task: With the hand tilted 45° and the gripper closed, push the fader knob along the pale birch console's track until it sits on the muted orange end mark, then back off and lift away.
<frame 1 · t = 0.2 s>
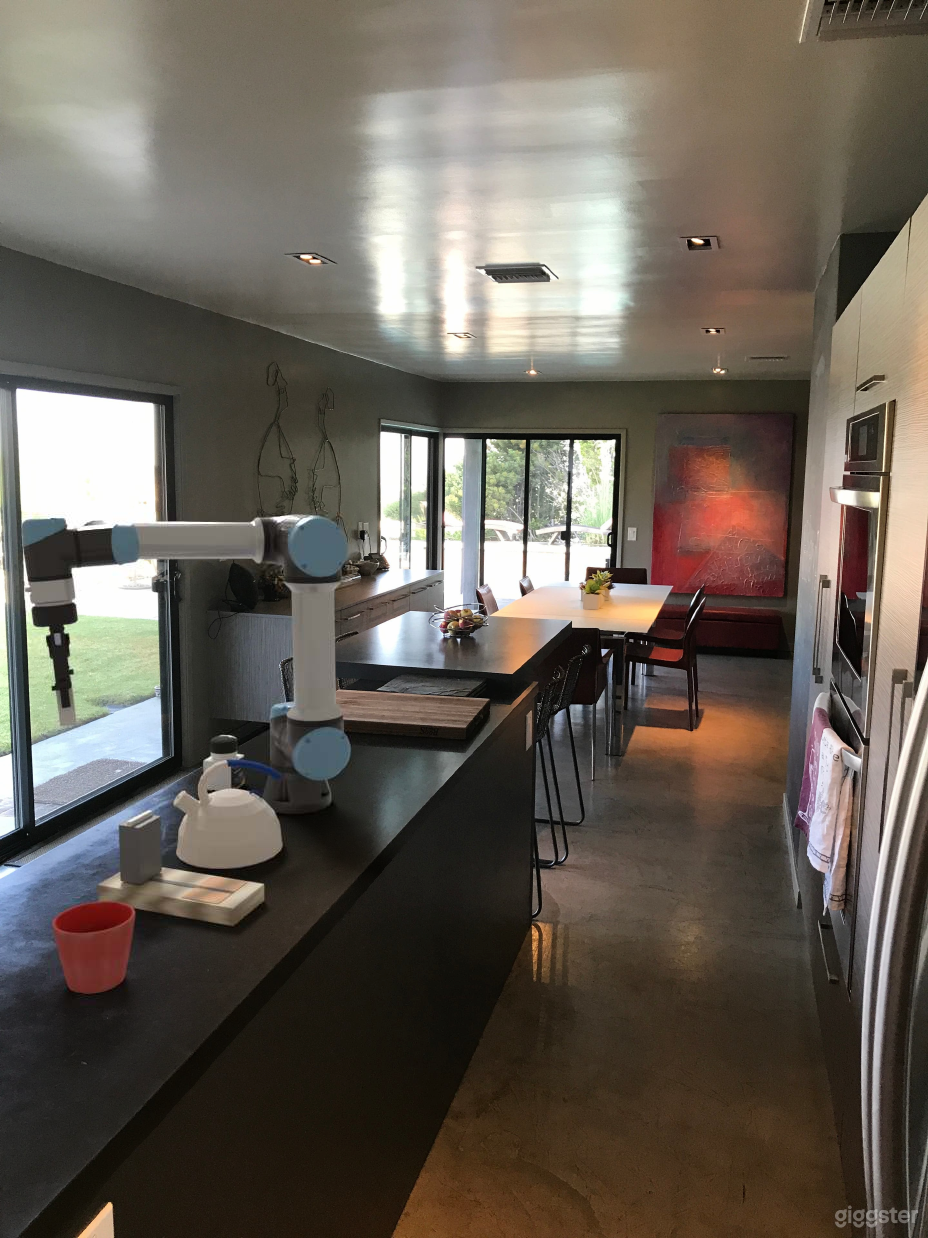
hand: (68, 717, 173), 27 cm above the table, tool pointing down, fingers open, 13 cm apart
medicine bottle: (224, 787, 221), on the table
fader console: (181, 901, 160), on the table
flower pot: (96, 981, 135), on the table
fader knob: (140, 846, 162), point 9 cm above the table, slide at 0.0 cm
kettle: (229, 850, 184), on the table
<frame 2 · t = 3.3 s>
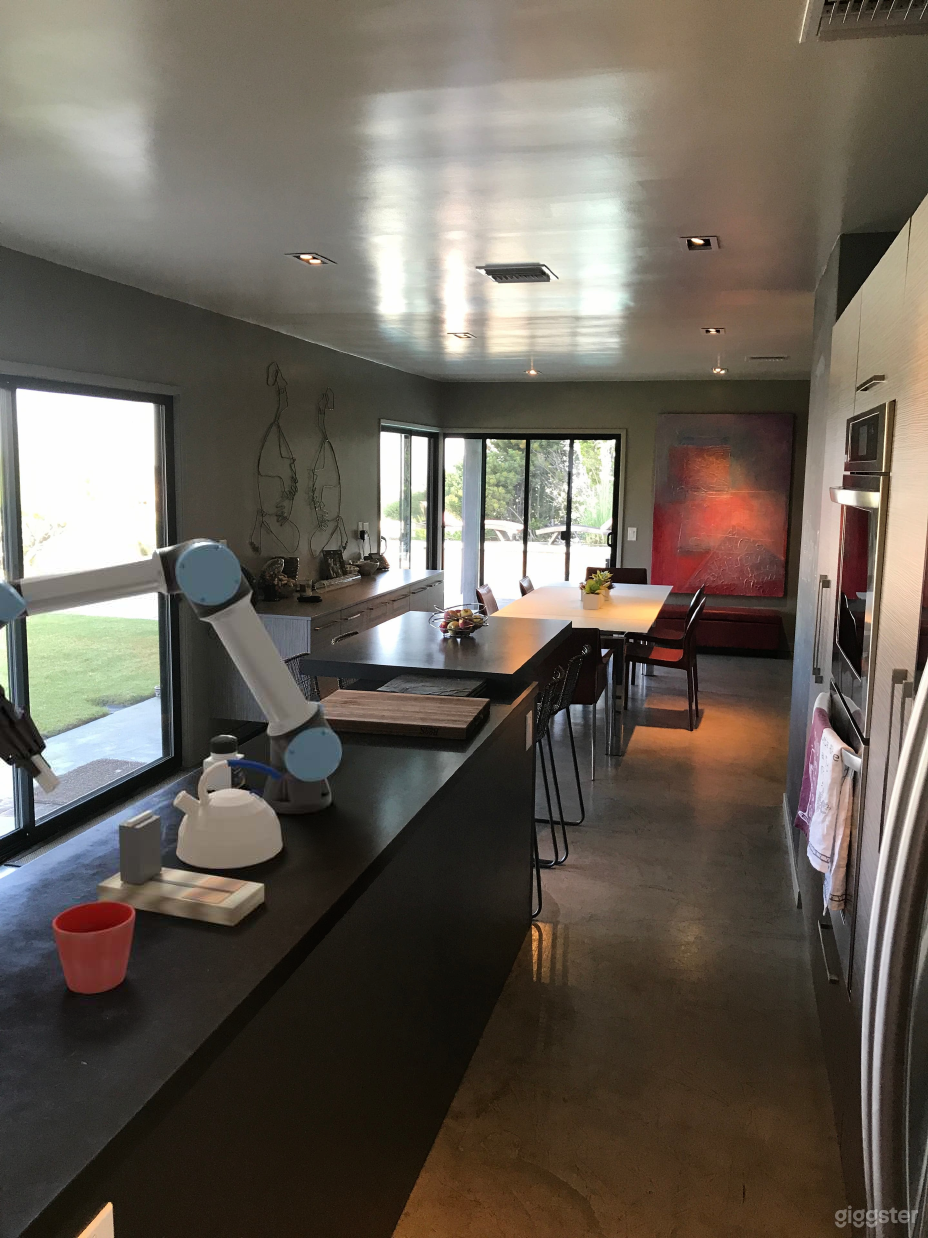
hand: (53, 788, 165), 17 cm above the table, tool tilted 45°, fingers closed
nothing on the table moved.
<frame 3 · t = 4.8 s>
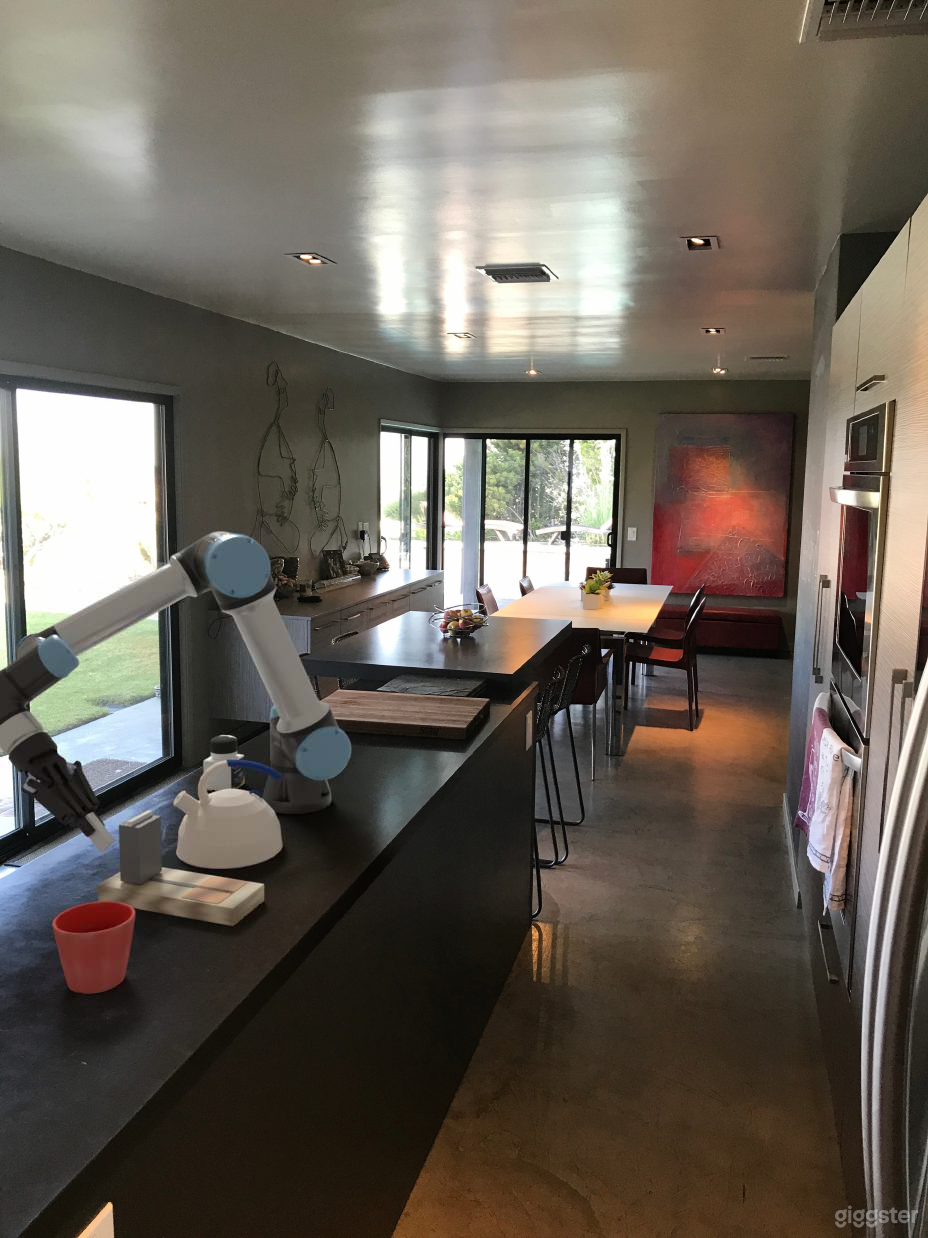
hand: (108, 846, 164), 8 cm above the table, tool tilted 45°, fingers closed
nothing on the table moved.
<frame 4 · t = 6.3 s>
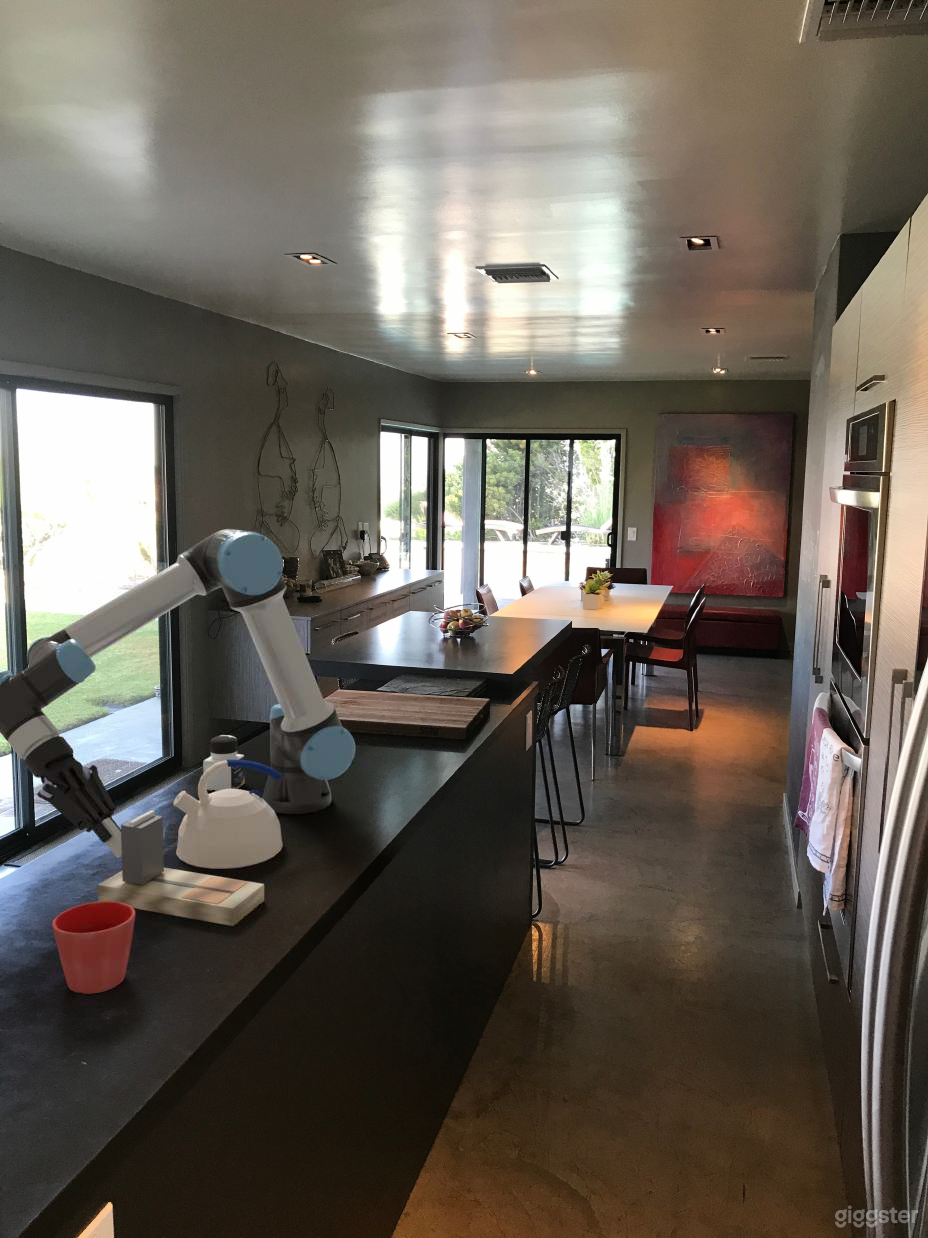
hand: (124, 852, 162), 7 cm above the table, tool tilted 45°, fingers closed
fader knob: (142, 846, 161), point 9 cm above the table, slide at 0.4 cm
everything else where it was.
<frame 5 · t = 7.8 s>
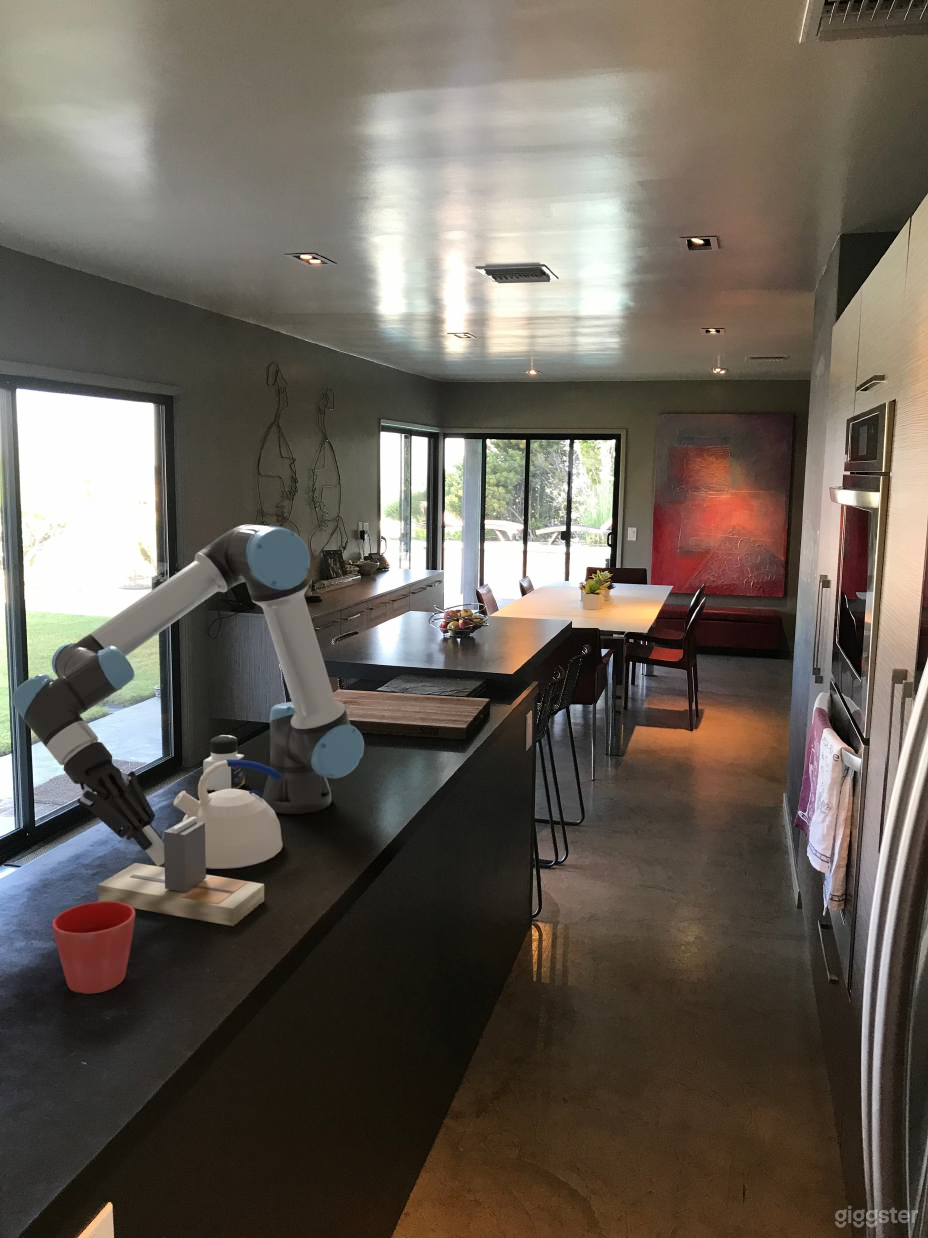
hand: (165, 860, 159), 7 cm above the table, tool tilted 45°, fingers closed
fader knob: (185, 853, 159), point 9 cm above the table, slide at 8.9 cm, touching gripper
everything else where it was.
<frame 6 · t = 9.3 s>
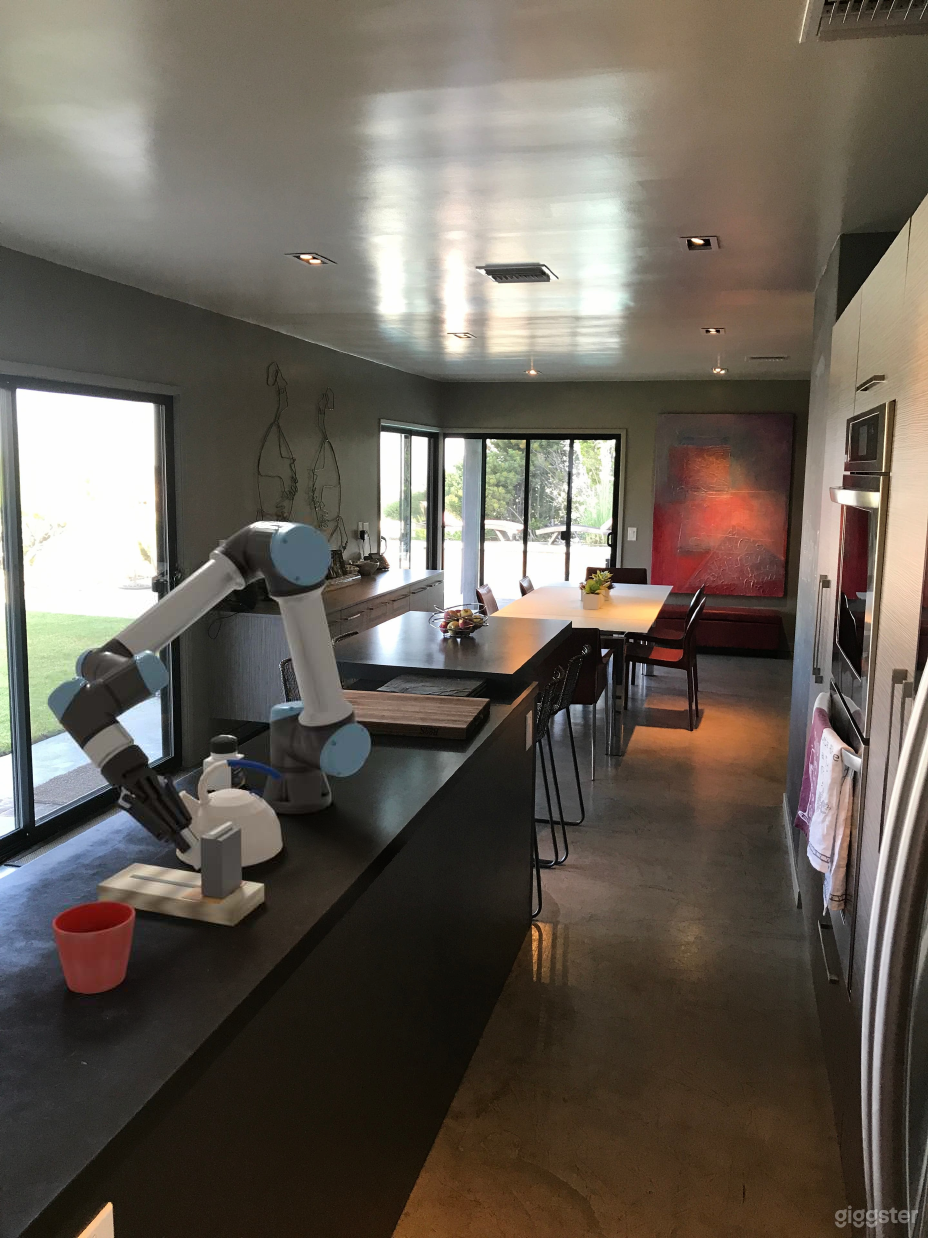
hand: (203, 863, 158), 8 cm above the table, tool tilted 45°, fingers closed
fader knob: (221, 859, 157), point 9 cm above the table, slide at 15.9 cm, touching gripper
everything else where it was.
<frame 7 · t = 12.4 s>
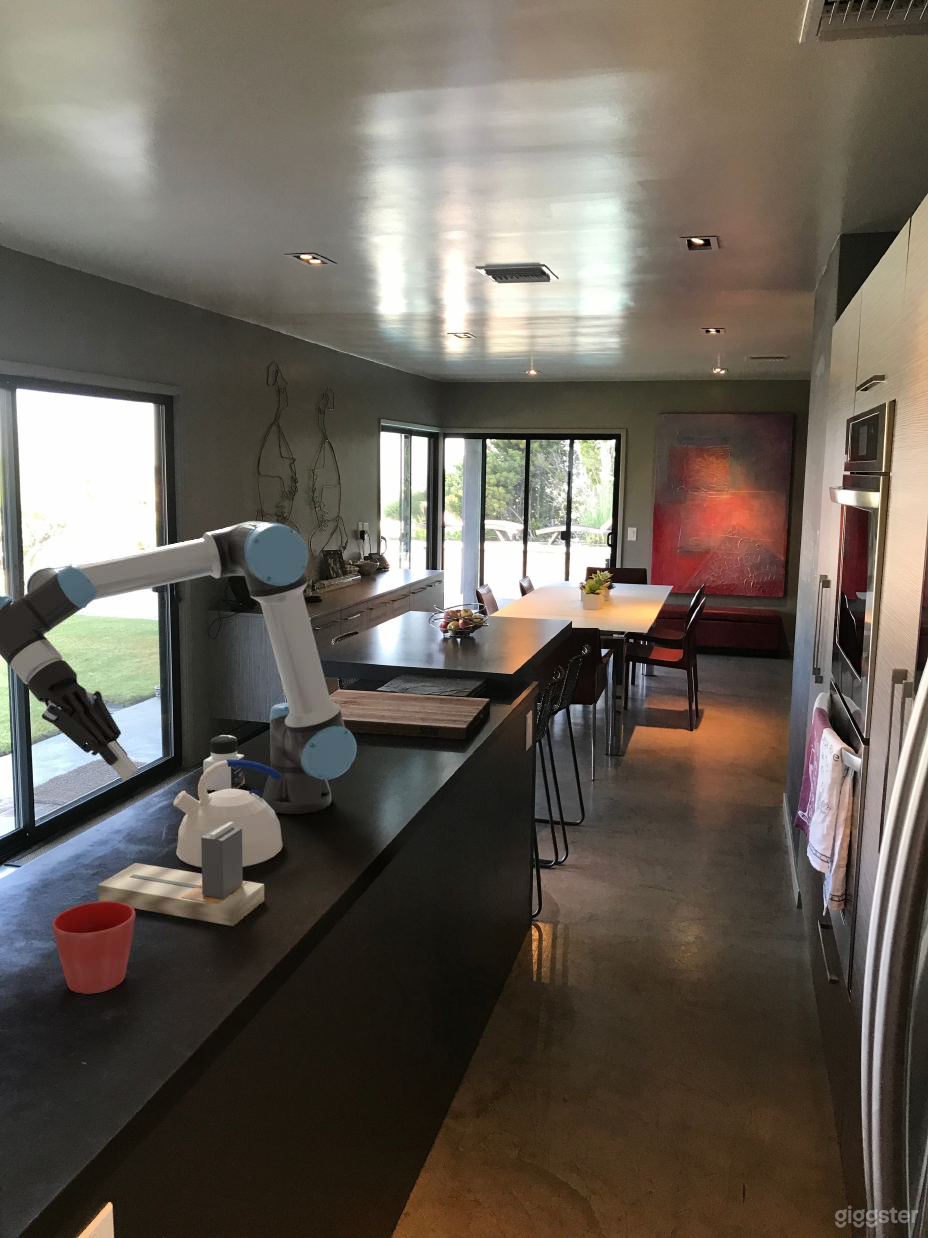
hand: (131, 775, 160), 21 cm above the table, tool tilted 45°, fingers closed
fader knob: (222, 859, 157), point 9 cm above the table, slide at 16.0 cm
everything else where it was.
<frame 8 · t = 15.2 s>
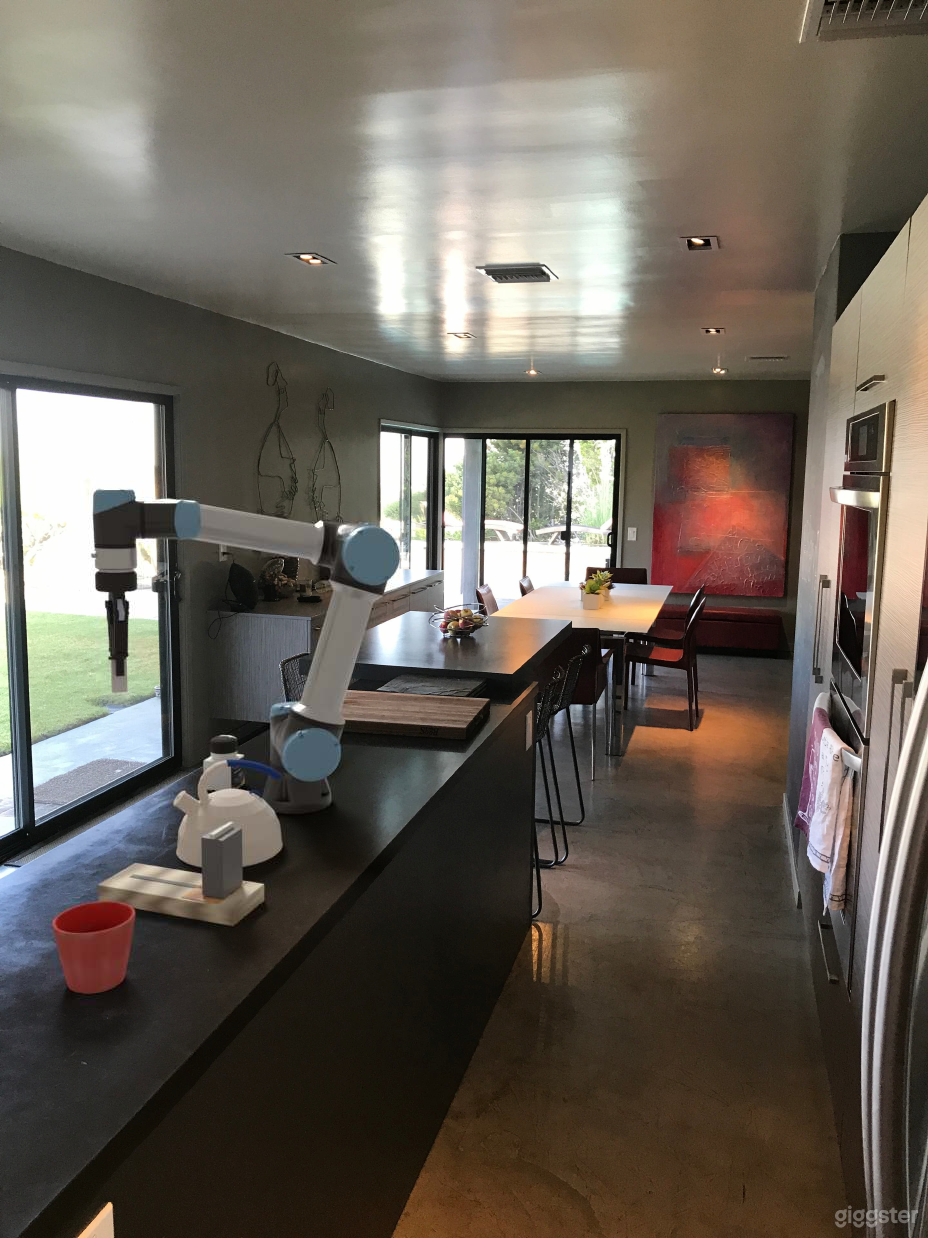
hand: (119, 691, 182), 30 cm above the table, tool pointing down, fingers closed
nothing on the table moved.
at the end: fader knob slide at 16.0 cm; the gripper is holding nothing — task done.
